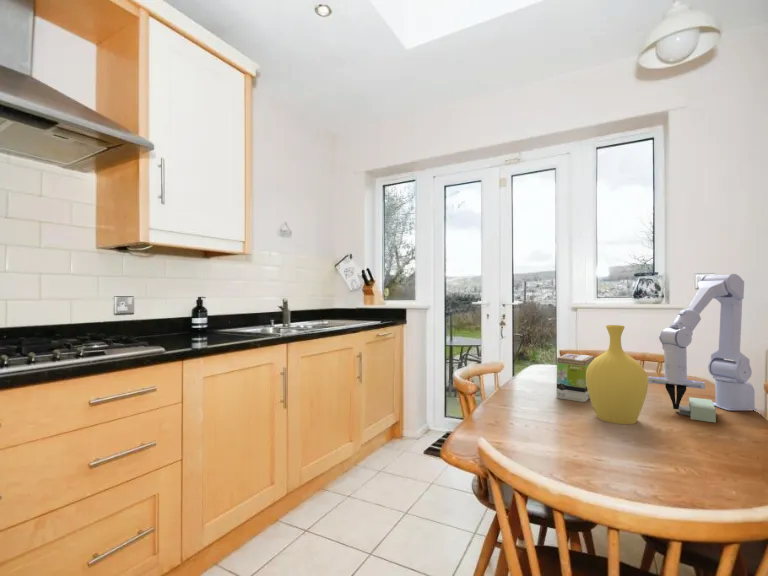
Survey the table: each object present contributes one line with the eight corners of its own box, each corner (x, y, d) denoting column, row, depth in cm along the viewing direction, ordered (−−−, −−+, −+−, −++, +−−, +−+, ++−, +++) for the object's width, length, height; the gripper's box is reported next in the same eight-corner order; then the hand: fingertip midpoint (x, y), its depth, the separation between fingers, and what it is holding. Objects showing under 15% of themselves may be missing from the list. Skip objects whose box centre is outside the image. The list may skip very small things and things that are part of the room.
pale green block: (690, 419, 118) (690, 406, 118) (689, 408, 128) (688, 397, 128) (715, 422, 114) (715, 409, 114) (711, 411, 125) (711, 399, 125)
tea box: (586, 403, 135) (586, 360, 135) (555, 398, 141) (555, 357, 141) (594, 394, 147) (594, 354, 147) (565, 390, 153) (565, 352, 153)
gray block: (679, 415, 122) (679, 409, 122) (679, 411, 127) (679, 405, 127) (708, 420, 118) (708, 413, 118) (707, 415, 122) (707, 409, 122)
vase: (659, 429, 109) (657, 328, 109) (595, 425, 112) (594, 327, 112) (634, 412, 124) (633, 324, 125) (579, 409, 128) (578, 323, 128)
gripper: (647, 365, 126) (648, 407, 126) (705, 370, 118) (706, 415, 117) (648, 362, 132) (648, 402, 132) (704, 366, 123) (704, 410, 123)
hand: (675, 408), depth 125 cm, fingers closed
